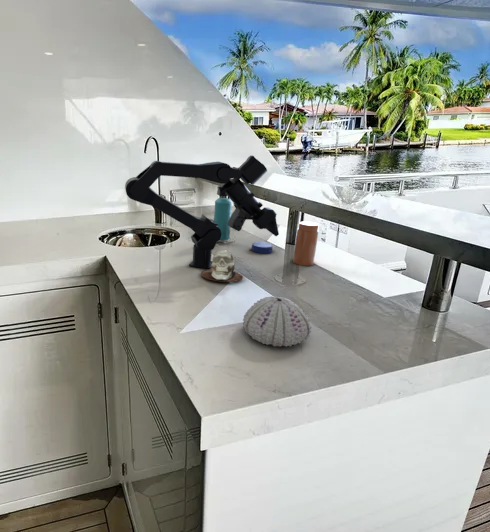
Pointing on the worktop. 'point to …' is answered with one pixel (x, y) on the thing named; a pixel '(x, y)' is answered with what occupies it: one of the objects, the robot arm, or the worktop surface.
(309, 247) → the jar
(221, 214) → the beverage bottle
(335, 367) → the worktop surface
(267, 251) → the jar lid
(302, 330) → the sea urchin shell
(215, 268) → the skull
